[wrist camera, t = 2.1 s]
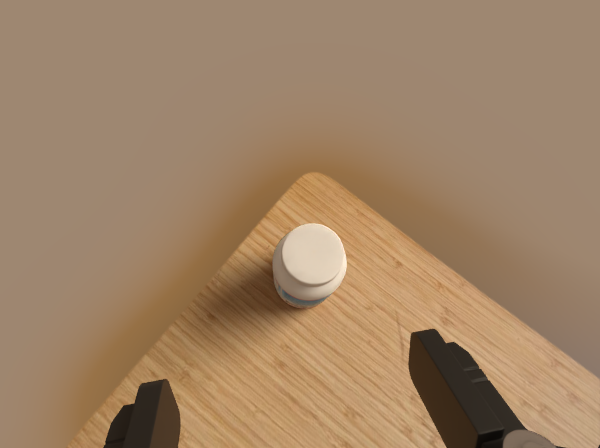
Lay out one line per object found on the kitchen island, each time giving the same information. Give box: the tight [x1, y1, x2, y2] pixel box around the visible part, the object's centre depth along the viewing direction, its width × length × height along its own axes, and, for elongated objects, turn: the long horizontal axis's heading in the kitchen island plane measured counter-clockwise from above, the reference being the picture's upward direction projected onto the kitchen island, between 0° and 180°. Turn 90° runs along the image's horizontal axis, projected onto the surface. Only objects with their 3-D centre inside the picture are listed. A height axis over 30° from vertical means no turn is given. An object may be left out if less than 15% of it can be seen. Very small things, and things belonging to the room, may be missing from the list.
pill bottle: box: [272, 223, 347, 308], centre depth 32 cm, size 6×6×11 cm
